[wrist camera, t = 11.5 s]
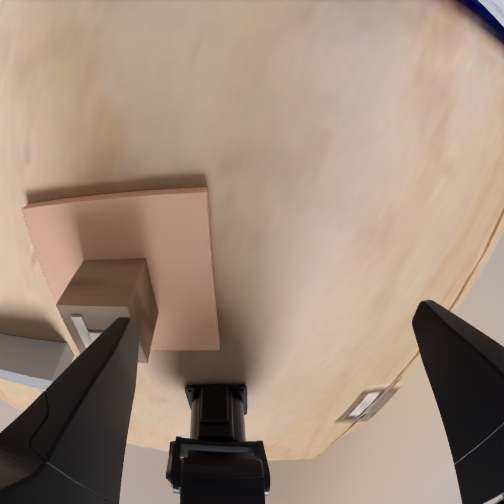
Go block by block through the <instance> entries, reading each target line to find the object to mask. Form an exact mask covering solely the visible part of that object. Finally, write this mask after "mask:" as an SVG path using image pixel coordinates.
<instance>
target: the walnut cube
mask: <svg viewBox="0 0 504 504" xmlns="http://www.w3.org/2000/svg"><path fill="white" fill-rule="evenodd" d="M56 306H57V308H58V310H59V313H60V315H61V317H62V319H63V321H64V323H65V325H66V327H67V329H68V331H69V333H70V335H71V337H72V339H73V340H74V342H75V344H76V346H77V348H78V350H79V352H80V353H82V352H83V351H84V350H85V349H86V348H87V347H88V346H89V345H90V344H91V343H92V342H93V341H94V340H95V339H96V338H97V337H98V336H99V335H100V334H101V333H102V332H103V331H104V330H105V329H107V328H108V327H109V326H110V325H111V324H112V323H113V322H114V321H115V320H116V319H117V318H119V317H130V318H132V319H133V321H134V324H135V327H136V330H137V333H138V336H139V352H138V362H141V363H148V358H149V353H150V349H151V344H152V339H153V335H154V331H155V326H156V322H157V318H158V314H159V312H158V308H157V304H156V300H155V296H154V292H153V287H152V283H151V279H150V274H149V270H148V265H147V261H146V258H135V259H105V260H83V262H82V263H81V265H80V267H79V268H78V270H77V271H76V273H75V274H74V276H73V277H72V279H71V281H70V282H69V284H68V285H67V287H66V289H65V290H64V292H63V294H62V295H61V297H60V299H59V300H58V302H57V304H56Z"/></svg>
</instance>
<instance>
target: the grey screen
mask: <svg viewBox="0 0 504 504" xmlns="http://www.w3.org/2000/svg"><path fill="white" fill-rule="evenodd" d="M73 357H74V355H73V353H72V351H71V349H70V347H69V346H68V344H67V343H63V342H54V341H46V340H38V339H31V338H24V337H17V336H11V335H5V334H0V378H1V379H5V380H8V381H12V382H16V383H19V384H23V385H27V386H31V387H36V388H40V389H44V390H46V389H47V388H48V387H49V386H50V385H51V383H52V382H53V381H54V380H55V379H56V378H57V377H58V376H59V375H60V374H61V373H62V372H63V371H64V370H65V369H66V368H67V367H68V366H69V365H70V364H71V362H72V360H73Z"/></svg>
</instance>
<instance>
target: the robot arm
mask: <svg viewBox="0 0 504 504" xmlns="http://www.w3.org/2000/svg"><path fill="white" fill-rule="evenodd" d="M412 326H413V330H414V333H415V336H416V340H417V343H418V347H419V351H420V354H421V358H422V361H423V364H424V367H425V370H426V373H427V376H428V379H429V381H430V384H431V387H432V390H433V393H434V396H435V399H436V402H437V405H438V408H439V411H440V414H441V418H442V421H443V424H444V428H445V431H446V435H447V438H448V442H449V446H450V449H451V453H452V457H453V461H454V464H455V465H454V466H455V470H456V474H457V479H458V484H459V489H460V494H461V499H462V504H484V503H486V502H488V501H489V500H492V499H493V498H495V497H497V496H499V495H501V494H502V496H503V498H501V499H500V500H498V501H497V502H496V503H494V504H504V347H503V346H501V345H500V344H499V343H497V342H496V341H494V340H493V339H491V338H490V337H488V336H487V335H485V334H484V333H482V332H481V331H479V330H478V329H476V328H475V327H473V326H472V325H470V324H469V323H467V322H466V321H464V320H462V319H461V318H459V317H458V316H456V315H455V314H453V313H452V312H450V311H448V310H447V309H445V308H444V307H442V306H440V305H439V304H437V303H436V302H434V301H432V300H426V301H421V302H420V303H419V305H418V308H417V310H416V312H415V315H414V317H413V320H412ZM138 352H139V336H138V333H137V330H136V327H135V324H134V321H133V319H132V318H130V317H119V318H117V319H116V320H115V321H114V322H113V323H112V324H111V325H110V326H109V327H108V328H107V329H105V330H104V331H103V332H102V333H101V334H100V335H99V336H98V337H97V338H96V339H95V340H94V341H93V342H92V343H91V344H90V345H89V346H88V347H87V348H86V349H85V350H84V351H83V352H82V353H81V354H80V355H79V356H78V357H77V358H76V359H75V360H74V361H73V362H72V363H71V364H70V365H69V366H68V367H67V368H66V369H65V370H64V371H63V372H62V373H61V374H60V375H59V376H58V377H57V378H56V379H55V380H54V381H53V382H52V383H51V385H50V386H49V387H48V388H47V389H46V392H45V391H44V392H43V393H42V394H41V395H40V396H39V397H38V398H37V399H36V400H35V401H34V402H33V403H32V404H31V405H30V406H29V407H28V408H27V409H26V410H25V411H24V412H23V413H22V414H21V415H20V416H19V417H17V418H16V419H15V420H14V421H13V422H12V423H11V424H10V425H9V426H7V427H6V428H5V429H4V430H3V431H2V432H1V433H0V504H119V498H120V487H121V478H122V470H123V462H124V454H125V447H126V440H127V434H128V428H129V421H130V415H131V410H132V404H133V399H134V393H135V386H136V375H137V363H138ZM185 393H186V396H187V399H188V402H189V405H190V408H191V428H190V438H182V437H178V436H176V441H173V442H170V450H169V459H168V465H167V471H166V478H167V479H168V480H169V482H170V483H171V486H172V487H173V493H178V494H180V504H265V496H267V495H268V493H269V489H270V472H269V468H268V463H267V459H266V454H265V450H264V445H263V441H246V438H245V423H244V415H246V414H247V388H246V385H244V384H237V385H186V386H185ZM182 457H183V458H182Z"/></svg>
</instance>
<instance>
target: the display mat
mask: <svg viewBox="0 0 504 504" xmlns="http://www.w3.org/2000/svg"><path fill="white" fill-rule="evenodd" d="M22 212H23V215H24V219H25V222H26V226H27V229H28V232H29V235H30V238H31V241H32V244H33V247H34V250H35V253H36V256H37V259H38V261H39V264H40V267H41V269H42V272H43V274H44V277H45V279H46V282H47V284H48V287H49V289H50V292H51V294H52V296H53V298H54V301H55V303H56V304H57V302H58V300H59V299H60V297H61V295H62V294H63V292H64V290H65V289H66V287H67V285H68V284H69V282H70V281H71V279H72V277H73V276H74V274H75V273H76V271H77V270H78V268H79V267H80V265H81V263H82V262H83V260H105V259H135V258H146V261H147V265H148V270H149V274H150V279H151V283H152V287H153V292H154V296H155V300H156V304H157V308H158V312H159V314H158V318H157V322H156V326H155V331H154V335H153V339H152V344H151V349H150V350H220V338H219V328H218V318H217V307H216V296H215V285H214V273H213V261H212V248H211V234H210V219H209V203H208V187H193V188H174V189H159V190H145V191H132V192H121V193H110V194H100V195H91V196H82V197H73V198H65V199H57V200H50V201H43V202H36V203H29V204H27V205H26V206H25V207H24V208H23V209H22Z"/></svg>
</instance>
